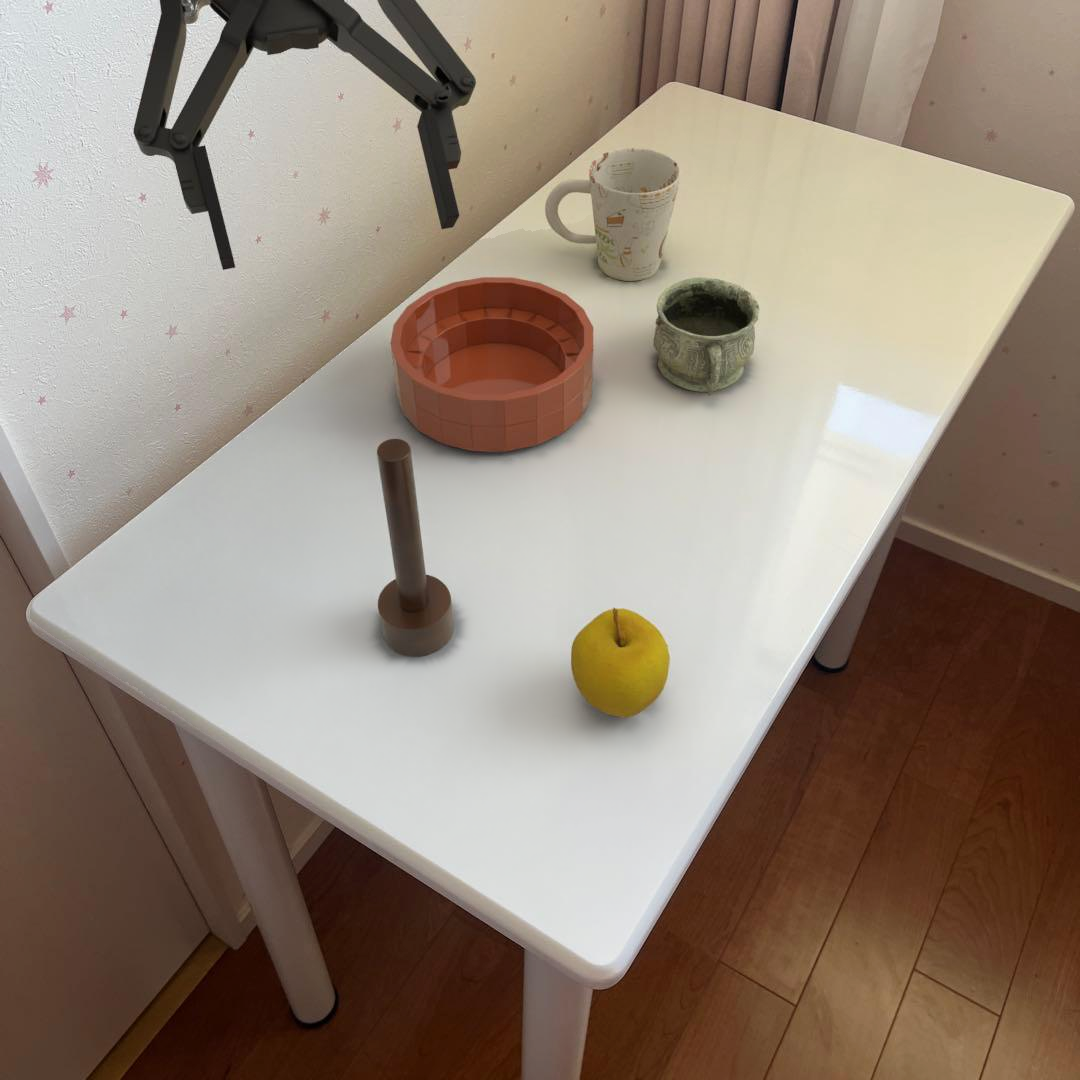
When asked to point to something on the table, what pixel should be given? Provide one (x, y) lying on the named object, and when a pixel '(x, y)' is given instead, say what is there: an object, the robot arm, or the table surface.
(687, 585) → the table surface
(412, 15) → the robot arm
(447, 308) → the bowl
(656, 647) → the apple
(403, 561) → the brown joystick
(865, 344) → the table surface
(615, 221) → the mug
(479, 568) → the table surface
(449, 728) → the table surface
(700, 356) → the vessel
